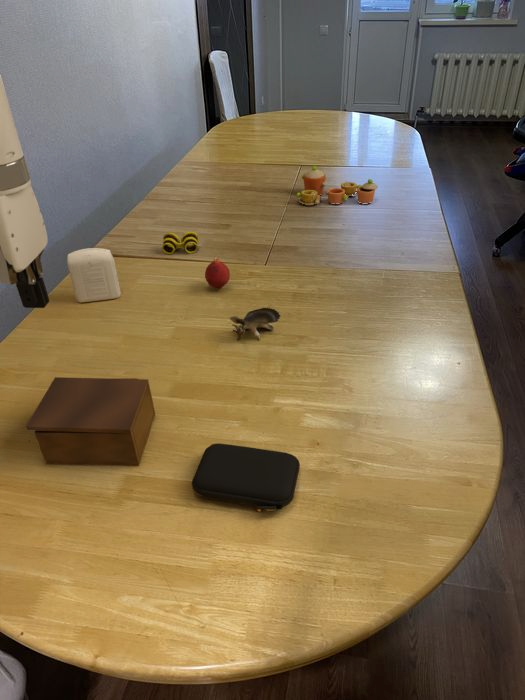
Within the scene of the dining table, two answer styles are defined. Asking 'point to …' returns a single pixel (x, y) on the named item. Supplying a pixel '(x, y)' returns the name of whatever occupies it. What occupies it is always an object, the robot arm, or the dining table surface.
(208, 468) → the carrying case
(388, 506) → the dining table surface
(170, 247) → the opera glasses
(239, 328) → the brown animal figure
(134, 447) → the keepsake box
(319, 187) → the toy tea set
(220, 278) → the onion
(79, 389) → the lid
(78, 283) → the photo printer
